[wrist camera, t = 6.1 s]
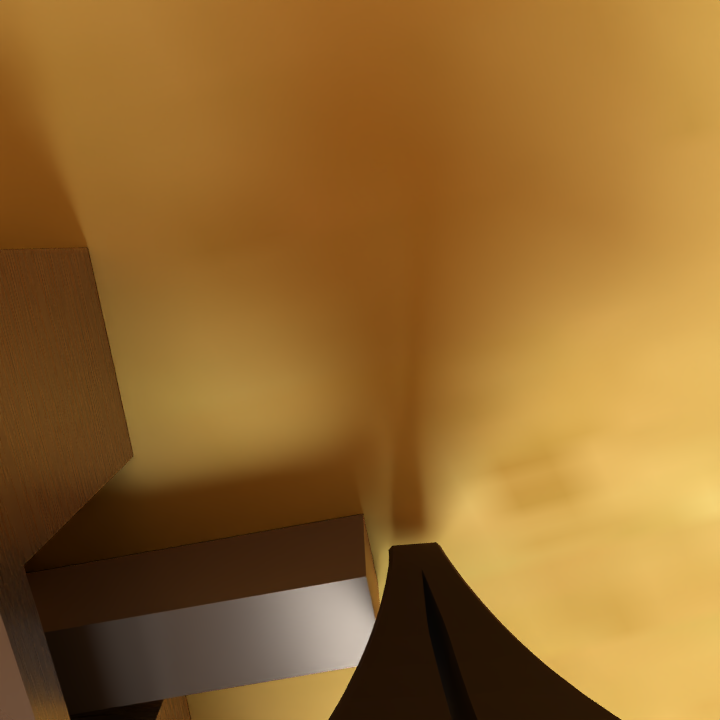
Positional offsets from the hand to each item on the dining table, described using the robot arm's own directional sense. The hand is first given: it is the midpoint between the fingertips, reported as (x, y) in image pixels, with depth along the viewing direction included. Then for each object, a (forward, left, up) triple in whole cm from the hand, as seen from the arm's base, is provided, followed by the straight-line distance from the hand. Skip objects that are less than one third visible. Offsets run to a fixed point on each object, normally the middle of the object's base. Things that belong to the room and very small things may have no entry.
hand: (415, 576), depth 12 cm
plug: (-1, +8, -1) cm, 8 cm away
